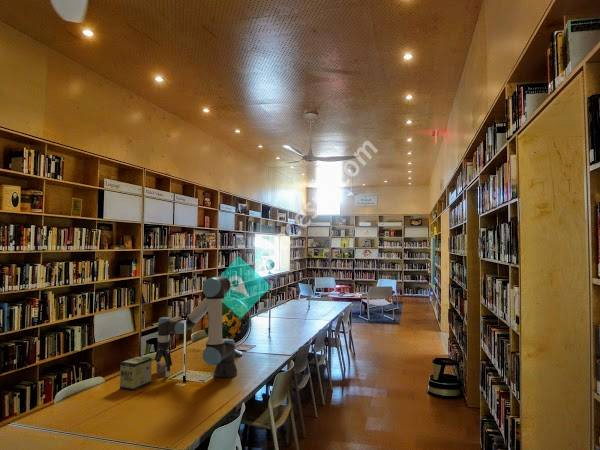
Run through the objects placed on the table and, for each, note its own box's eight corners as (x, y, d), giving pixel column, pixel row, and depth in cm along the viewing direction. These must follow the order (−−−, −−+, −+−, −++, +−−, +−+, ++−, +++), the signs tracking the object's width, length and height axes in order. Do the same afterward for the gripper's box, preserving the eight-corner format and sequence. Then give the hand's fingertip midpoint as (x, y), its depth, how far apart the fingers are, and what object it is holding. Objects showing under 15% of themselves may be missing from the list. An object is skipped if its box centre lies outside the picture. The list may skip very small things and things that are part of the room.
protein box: (119, 389, 242) (120, 362, 243) (138, 381, 256) (138, 355, 257) (133, 391, 238) (134, 364, 239) (151, 383, 253) (152, 357, 254)
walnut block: (169, 374, 270) (169, 363, 270) (160, 376, 266) (160, 365, 266) (165, 372, 274) (165, 362, 274) (156, 374, 270) (156, 363, 270)
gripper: (178, 343, 265) (177, 377, 263) (160, 337, 283) (159, 368, 281) (167, 345, 259) (166, 379, 258) (150, 338, 277) (149, 370, 276)
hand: (162, 374), depth 270 cm, fingers open, 13 cm apart
